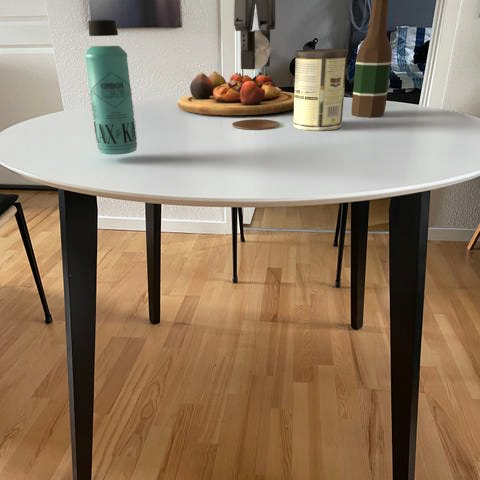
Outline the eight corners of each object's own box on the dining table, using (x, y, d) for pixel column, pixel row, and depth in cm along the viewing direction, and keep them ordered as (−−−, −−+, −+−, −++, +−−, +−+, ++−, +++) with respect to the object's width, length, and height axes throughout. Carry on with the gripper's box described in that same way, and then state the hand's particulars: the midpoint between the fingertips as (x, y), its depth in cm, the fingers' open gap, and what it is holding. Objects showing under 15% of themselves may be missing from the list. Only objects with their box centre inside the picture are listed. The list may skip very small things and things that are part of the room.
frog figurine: (260, 66, 105) (260, 28, 101) (277, 69, 100) (278, 29, 96) (234, 68, 103) (233, 29, 99) (250, 71, 97) (250, 29, 94)
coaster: (286, 123, 109) (286, 121, 108) (267, 131, 101) (267, 129, 101) (245, 119, 113) (245, 118, 112) (224, 127, 105) (223, 125, 105)
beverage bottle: (93, 159, 83) (70, 19, 73) (129, 153, 87) (112, 18, 76) (109, 166, 79) (88, 19, 68) (147, 159, 82) (131, 18, 72)
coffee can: (306, 120, 111) (309, 48, 104) (349, 124, 106) (356, 49, 99) (283, 128, 104) (285, 51, 96) (328, 132, 99) (335, 52, 91)
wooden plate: (306, 117, 114) (308, 77, 110) (168, 118, 115) (165, 79, 111) (298, 97, 141) (300, 65, 137) (187, 99, 143) (185, 66, 138)
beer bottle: (353, 117, 113) (366, -9, 100) (348, 112, 119) (359, -8, 107) (388, 117, 113) (405, -10, 100) (381, 111, 119) (396, -9, 107)
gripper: (260, -69, 98) (259, 63, 110) (210, -83, 83) (216, 71, 95) (295, -72, 95) (290, 64, 107) (250, -87, 80) (251, 72, 92)
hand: (255, 67), depth 101 cm, fingers closed on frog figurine, 6 cm apart
